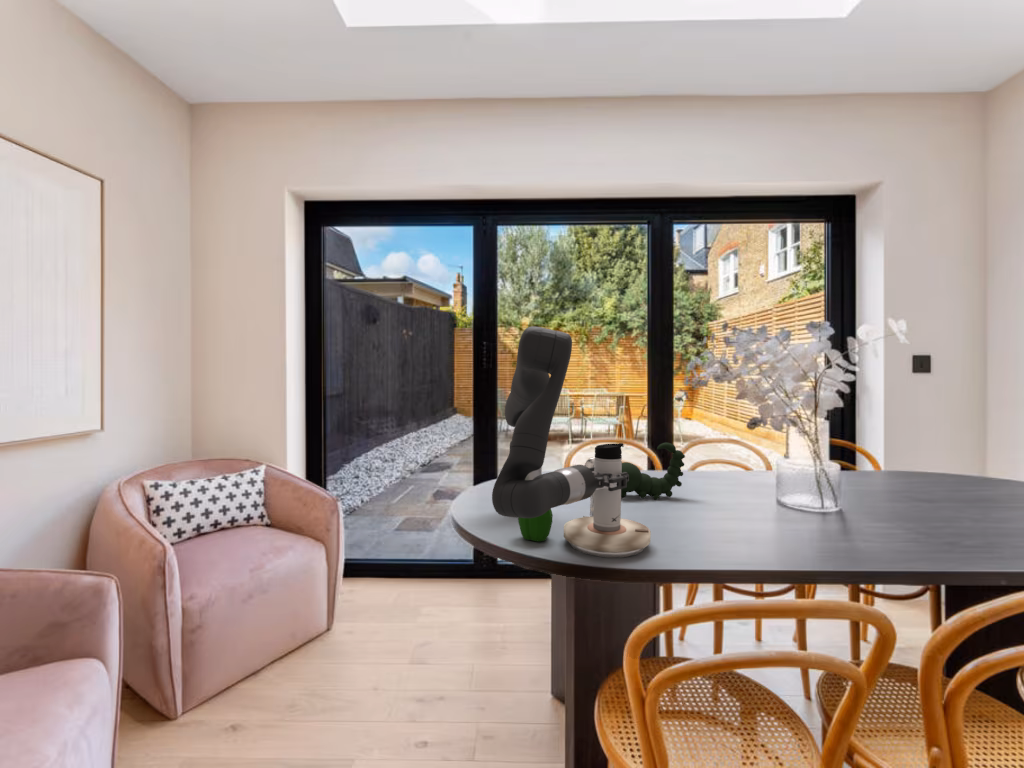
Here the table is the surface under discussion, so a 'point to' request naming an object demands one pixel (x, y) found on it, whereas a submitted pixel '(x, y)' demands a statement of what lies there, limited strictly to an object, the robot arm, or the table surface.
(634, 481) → the toy figurine
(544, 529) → the bell pepper
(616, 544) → the turntable platter
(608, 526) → the travel mug
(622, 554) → the turntable base
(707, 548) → the table surface
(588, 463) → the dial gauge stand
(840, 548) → the table surface
